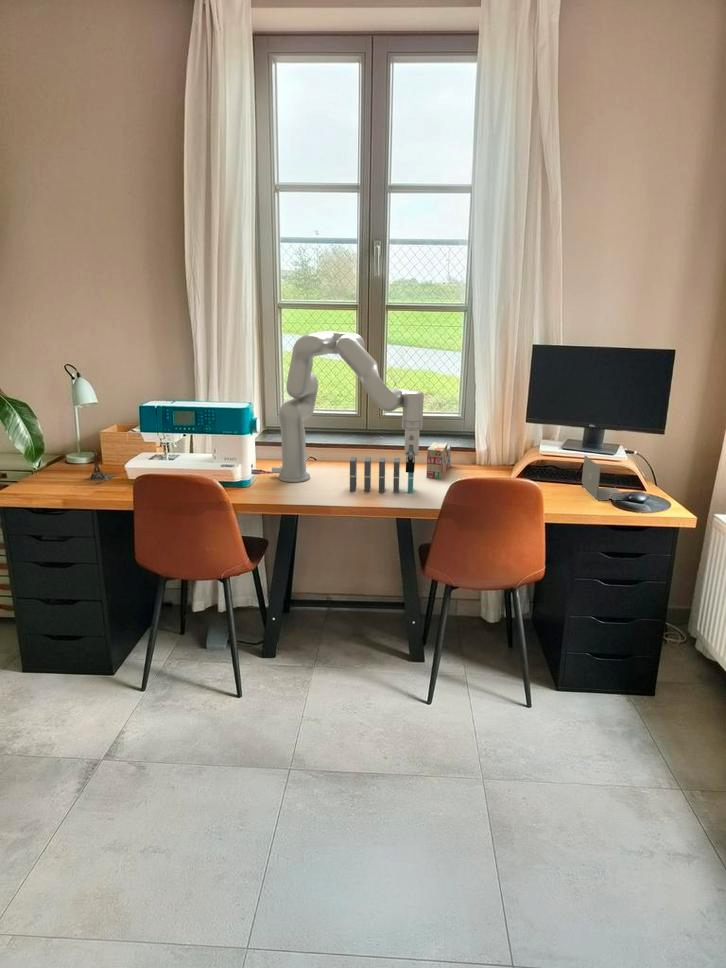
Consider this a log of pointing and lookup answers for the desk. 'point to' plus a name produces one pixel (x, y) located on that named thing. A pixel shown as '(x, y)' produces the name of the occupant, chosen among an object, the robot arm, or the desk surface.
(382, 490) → the domino
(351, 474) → the domino
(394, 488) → the domino
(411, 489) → the teal domino
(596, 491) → the laptop
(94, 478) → the eiffel tower figurine
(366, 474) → the domino
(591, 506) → the desk surface
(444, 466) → the stack of blocks
